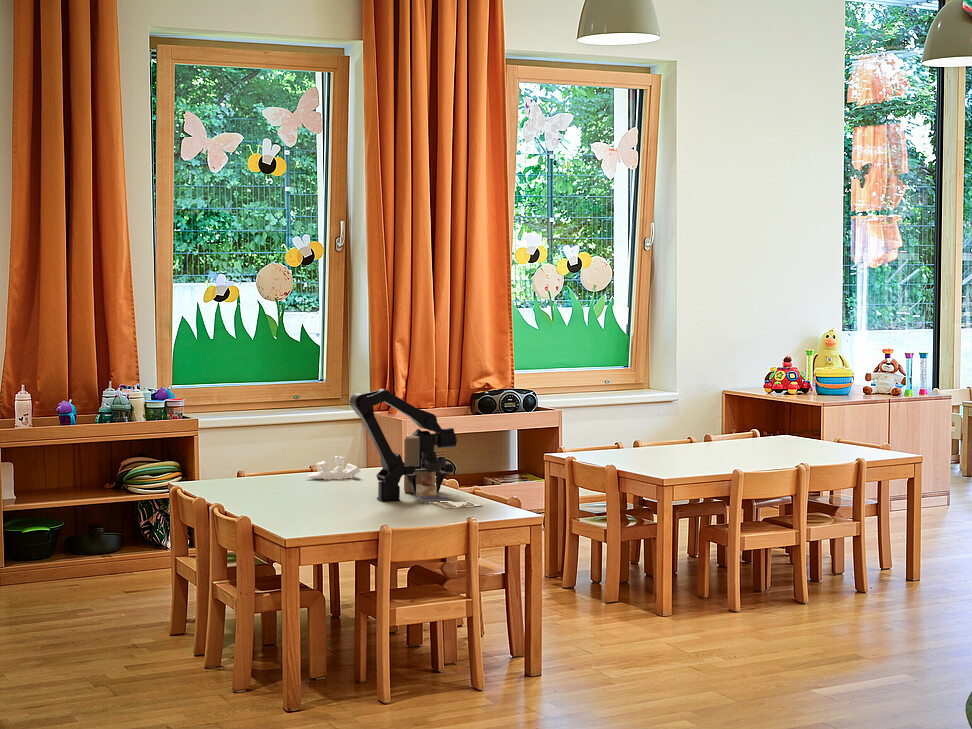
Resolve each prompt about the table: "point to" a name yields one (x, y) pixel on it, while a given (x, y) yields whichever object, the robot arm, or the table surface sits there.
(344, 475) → the white coral
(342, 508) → the table surface
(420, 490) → the stamp
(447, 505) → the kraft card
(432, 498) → the ink pad
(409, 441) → the wooden block
